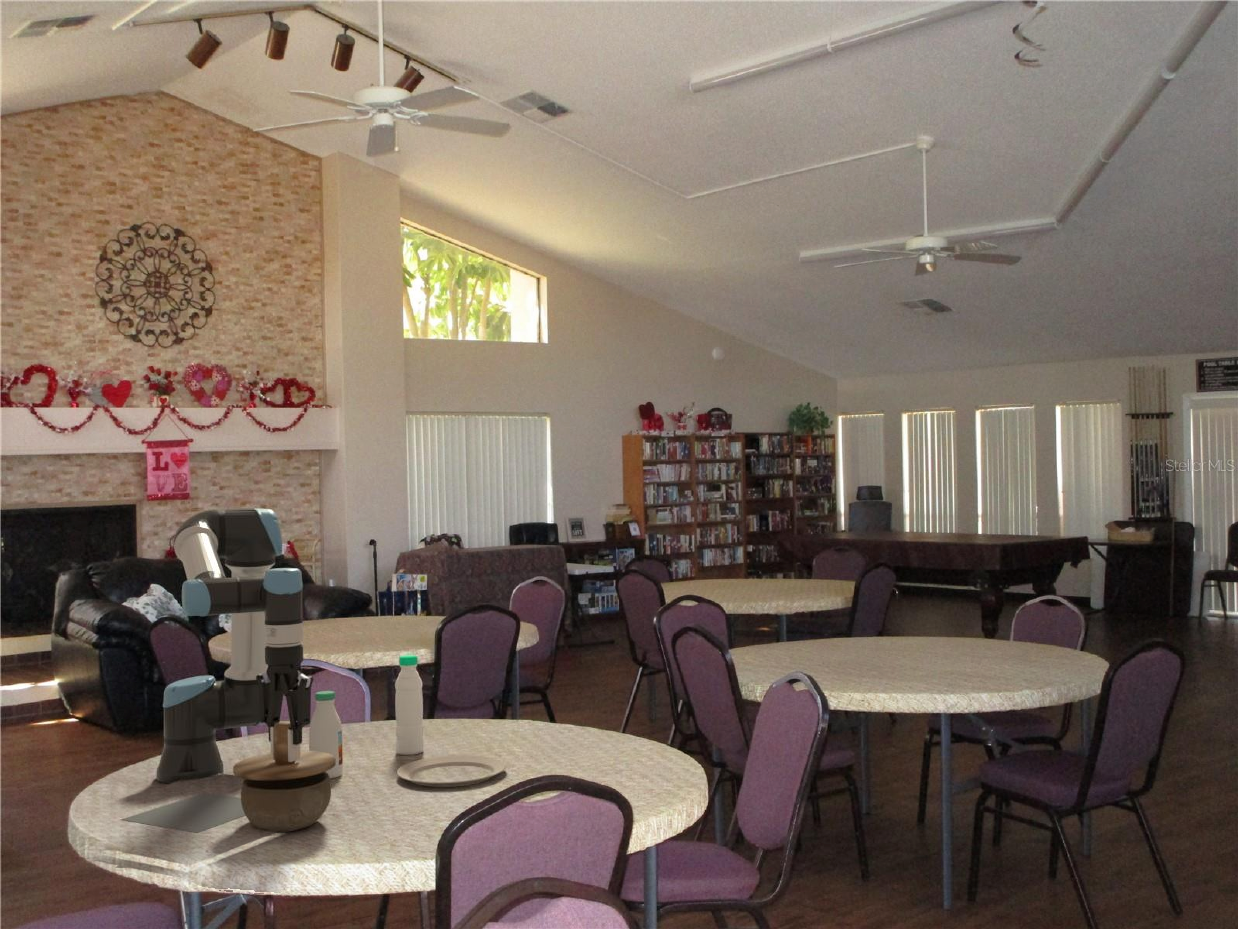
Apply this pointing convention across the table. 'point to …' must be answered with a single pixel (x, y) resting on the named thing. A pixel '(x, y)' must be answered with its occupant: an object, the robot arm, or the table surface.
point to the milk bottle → (327, 731)
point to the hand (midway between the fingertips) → (285, 759)
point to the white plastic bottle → (409, 708)
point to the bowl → (286, 802)
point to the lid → (283, 761)
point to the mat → (193, 813)
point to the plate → (453, 760)
